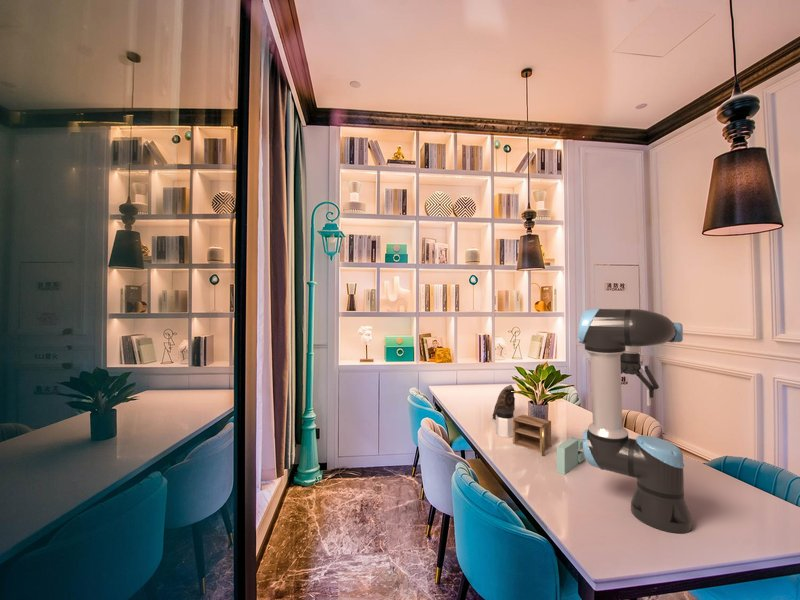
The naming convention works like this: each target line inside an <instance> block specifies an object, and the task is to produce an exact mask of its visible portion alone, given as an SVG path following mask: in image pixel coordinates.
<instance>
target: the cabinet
mask: <svg viewBox="0 0 800 600" xmlns="http://www.w3.org/2000/svg"><path fill="white" fill-rule="evenodd" d="M542 428H545V451H547V450H548V449H550V448H552V420H550V419H549V420H548V419H546V418H545V419H543V418H540V417H536V416H532V415H527V414H524V413H523V414H521V415H518V416H515V417H514V418H513V437H512V444H513V445H516V446H519V447H523V448H525V449H528V450H532V451H535V452H538V453H542Z"/></svg>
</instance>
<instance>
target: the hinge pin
mask: <svg viewBox="0 0 800 600" xmlns="http://www.w3.org/2000/svg"><path fill="white" fill-rule="evenodd" d="M545 451H546V450H545V428H542V452H541V456H542V457H546V456H545V455H546V453H545Z"/></svg>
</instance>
